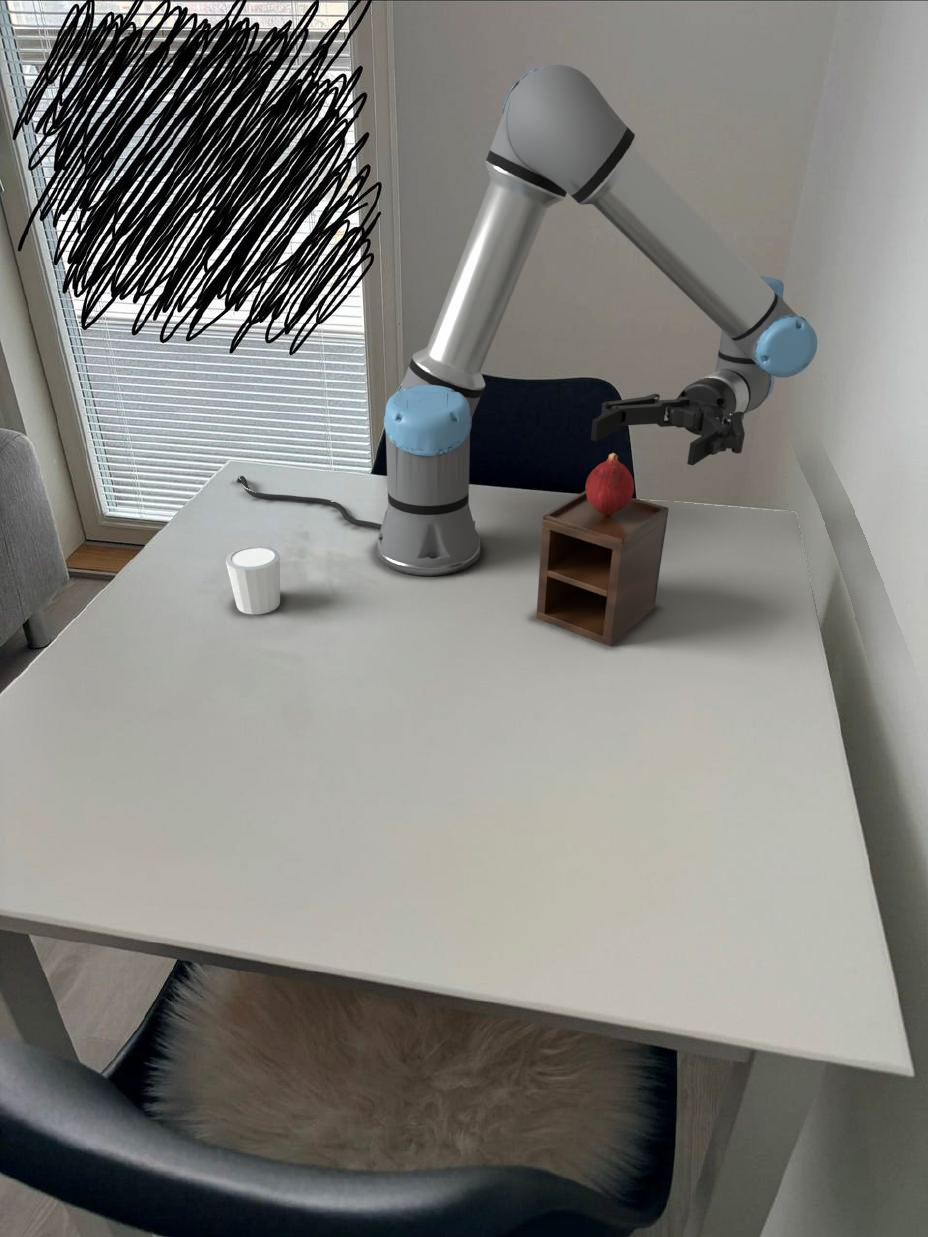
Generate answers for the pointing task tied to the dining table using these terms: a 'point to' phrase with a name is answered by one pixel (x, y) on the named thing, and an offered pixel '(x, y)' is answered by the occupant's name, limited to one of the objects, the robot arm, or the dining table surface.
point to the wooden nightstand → (600, 567)
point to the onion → (609, 486)
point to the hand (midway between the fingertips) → (641, 442)
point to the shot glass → (255, 578)
